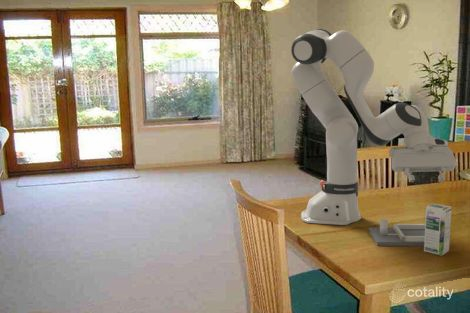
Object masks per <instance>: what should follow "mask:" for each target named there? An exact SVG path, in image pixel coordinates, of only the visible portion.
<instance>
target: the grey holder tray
mask: <svg viewBox="0 0 470 313" xmlns="http://www.w3.org/2000/svg"><path fill="white" fill-rule="evenodd" d="M388 222H389V221H388V219H386V218H380V219H379V227H368V232H369V234H370V236H371V237H372V239H373V241H374V243H375V245H376V246H381V247H383V246H384V247H385V246H387V247H389V246H391V247H392V246H398V247H399V246H401V247H402V246H403V247H404V246H406V247H408V246H410V247H411V246H413V247H418V246H419V247H420V246H421V247H422V246H423V247H424V242H425V223H392V227H389V224H388Z"/></svg>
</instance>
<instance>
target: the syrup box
mask: <svg viewBox="0 0 470 313" xmlns="http://www.w3.org/2000/svg"><path fill="white" fill-rule="evenodd" d="M424 218H425V221H424V222H425V223H424V224H425V242H424V246H423V252H424V253H430V254H433V255H437V256H440V257H442V256H443V255H445V254H447V253H448V252H449V251H450V240H451V236H450V235H451V224H452V223H451V220H452V206H451V205H444V204H438V203H430V204H429V205H426V207H425V217H424Z"/></svg>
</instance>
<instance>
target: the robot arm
mask: <svg viewBox="0 0 470 313" xmlns="http://www.w3.org/2000/svg"><path fill="white" fill-rule="evenodd" d="M290 48H291V56H292V58H293V59H294V60H295V61H296V63H295V64H294V65H293V67H292V68H291V77H292V79H293V82H294V84H295V86H296V88H297V90H298V92H299V94H300V95H301V97H302V98H303V100H304V101H305V103H306V105H307V106H308V108H309V109H310V110H311V112H312V114H314V116H315V117H316V118H317V119H318V121H319V122H320V123H321V125H323V127H324V128H325V146H326V163H327V164H326V166H327V168H326V181H324V180H323V179H322V180H320V181H319V185H320V186H321V190H320V191H319V192H318V193H317V194H315V195H314V196H312V197H310V199H309V200H308V203H307V206H306V209H304V210H302V211H301V214H300V218H301V220H302V221H303V222H305V223H307V224H319V225H321V224H323V225H336V226H337V225H340V226H347V225H350V224H351V223H355V222H358V221H360V220H361V219H362V218H361V213H360V210H359V203H358V202H359V201H358V197H359V182H358V134H359V125H358V122H357V121H356V119H355V118H354V116H353V114H352V113H351V112H350V110H349V109H348V107H347V106H346V105H345V103H344V102H343V101H342V99H341V98H340V97H339V95H338V92H336V90H335V88H334V87H333V86H332V84H331V83H330V81H329V80H328V78H327V77H326V75H325V74H324V72H323V70H322V67H321V64H323V63H324V62H325V61H326V60H327V59H329V60H330V61H332V62H333V63H334V64H335V65H336V67H337V68H338V70H339V72H341V75H342V78H343V81H344V86H343V90H344V93H345V96H346V98H347V99H348V100H347V101H348V102H349V104H350V105H351V106H350V107H352V109H353V112H354V113H355V116H356V117H357V119H358V121H359V122H360V125H361V126H362V129H363V131H364V134H365V136H366V139H367V140H368V141H369V142H370V143H371V144H372V145H376V146H379V147H381V146H382V147H383V146H384V147H385V146H386V145H387V144H389V143H390V142H391V141H392V140H394V139H395V138H397V137H398V136H400V135H401V134H402V135H403V136H404V137H403V138H404V139H403V140H404V146H393V147H391V148H390V149H389V151H388V154H389V157H390V158H391V170H392V171H393V172H395V173H402V172H403V175H404V176H406V178H408V182H409V183H415V181H416V179H415V175H414V174H412V173H413V172H415V173H418V172H421V173H422V172H439V173H440V174H439V175H438V177H437V178H438V182H440V183H444V181H446V178H445V174H446V172H452V171H454V170H455V168H456V166H457V160H456V158H455V155H454V152H453V151H452V149H451V148H450V147H448V145H449V142H448V141H447V140H446V139H441V138H436V137H434V136H431V135H432V134H430V132H429V130H430V127H429V124H428V121H427V120H428V119H427V117H426V114H425V113H424V111H423V109H422V108H421V107H420V106H418V105H415V104H408V103H406V102H397V103H395V104H393V105H392V106H390V107H388V108H387V109H386V110H385V111H384V112H382V113H380V114H379V115H378V116H375V115H374V114H373V112H372V110H371V108H370V107H369V105H368V103H367V101H366V99H365V97H364V94H365V89H366V87H367V84H368V83H369V82H370V80H371V78H372V75H373V73H374V69H375V63H374V59H373V58H372V56H371V55H370V53H369V52H368V50H367V49H366V48H365V47H364V45H363V44H362V43H361V42H360V40H358V39H357V38H356V37H355V36H354V35H353V34H352V33H350V32H349V31H348V30H344V29H341V30H338V31H336V32H334V33H333V34H332V33H331V32H329V31H328V30H326V29H322V28H320V29H319V28H317V29H312V30H309V31H307V32H305V33H302V34H300V35H299V36H297V37H296V38H295V39H294V41H293V42H292V44H291V47H290ZM410 172H412V173H410Z"/></svg>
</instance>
